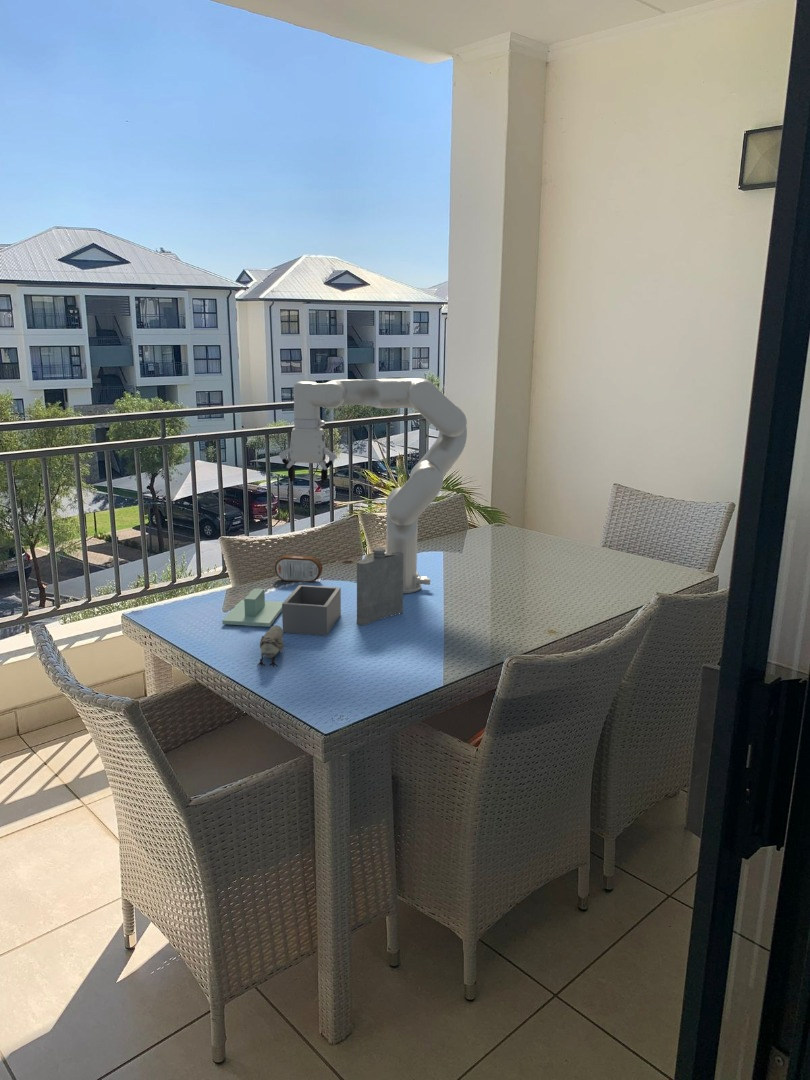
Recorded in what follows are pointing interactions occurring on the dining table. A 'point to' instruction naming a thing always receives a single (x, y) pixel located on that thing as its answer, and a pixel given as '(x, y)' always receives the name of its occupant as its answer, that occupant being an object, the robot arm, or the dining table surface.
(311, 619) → the tub
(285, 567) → the tin
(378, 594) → the hip flask
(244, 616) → the lid
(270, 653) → the decorative bird
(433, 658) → the dining table surface
